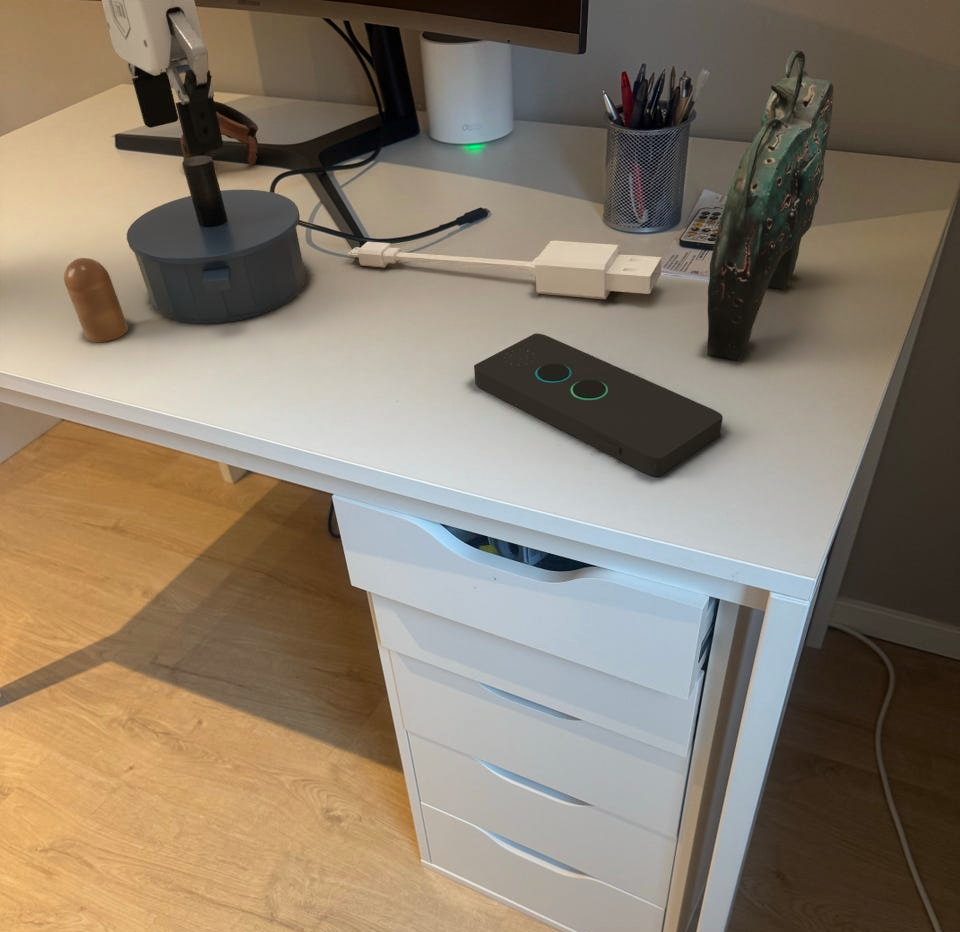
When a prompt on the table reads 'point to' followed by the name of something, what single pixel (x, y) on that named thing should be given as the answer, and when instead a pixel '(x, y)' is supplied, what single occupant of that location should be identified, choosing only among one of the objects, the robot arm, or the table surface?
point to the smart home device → (599, 403)
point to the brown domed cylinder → (95, 300)
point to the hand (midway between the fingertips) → (183, 136)
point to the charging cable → (549, 267)
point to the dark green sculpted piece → (768, 207)
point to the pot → (226, 284)
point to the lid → (211, 221)
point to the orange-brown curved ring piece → (232, 131)
